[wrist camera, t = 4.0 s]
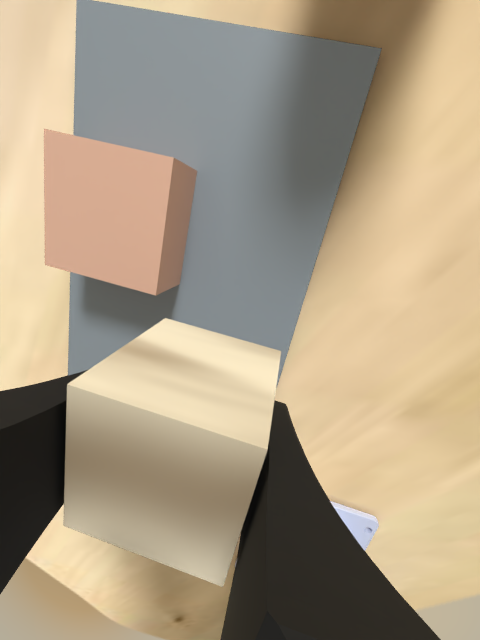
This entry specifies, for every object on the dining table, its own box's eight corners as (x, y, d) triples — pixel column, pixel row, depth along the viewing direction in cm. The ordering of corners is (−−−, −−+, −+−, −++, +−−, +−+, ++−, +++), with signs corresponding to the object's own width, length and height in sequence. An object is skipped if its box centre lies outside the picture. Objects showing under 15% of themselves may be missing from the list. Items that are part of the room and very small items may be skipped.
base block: (179, 284, 17) (155, 295, 14) (85, 258, 17) (45, 264, 15) (197, 170, 15) (173, 157, 12) (90, 146, 15) (44, 128, 13)
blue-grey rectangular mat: (256, 449, 20) (255, 454, 19) (72, 389, 21) (67, 392, 21) (378, 54, 12) (381, 48, 12) (83, 5, 14) (76, -3, 14)
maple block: (252, 447, 12) (222, 587, 7) (151, 414, 12) (63, 525, 8) (281, 350, 11) (267, 449, 6) (165, 318, 11) (66, 384, 6)
